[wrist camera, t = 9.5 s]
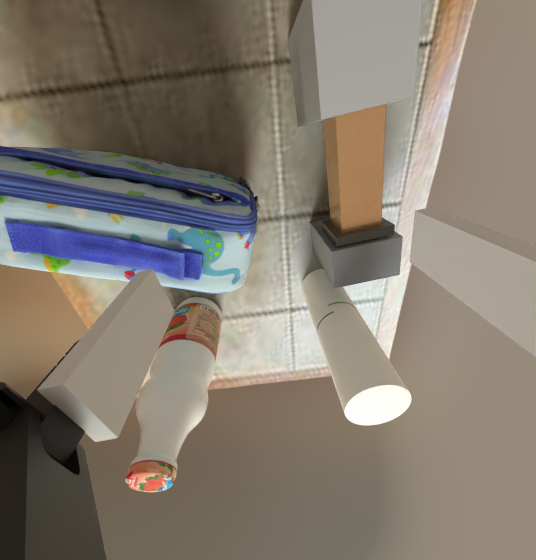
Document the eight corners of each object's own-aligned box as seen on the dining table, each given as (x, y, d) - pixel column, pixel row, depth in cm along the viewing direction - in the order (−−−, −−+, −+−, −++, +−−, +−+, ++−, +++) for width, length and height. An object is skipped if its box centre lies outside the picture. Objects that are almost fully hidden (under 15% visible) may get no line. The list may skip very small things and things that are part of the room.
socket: (309, 222, 41) (331, 251, 30) (361, 210, 40) (402, 236, 29) (313, 251, 43) (334, 288, 33) (361, 240, 43) (399, 274, 32)
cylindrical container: (294, 283, 47) (332, 406, 25) (325, 262, 45) (394, 375, 23) (314, 305, 50) (363, 432, 28) (344, 286, 48) (421, 406, 26)
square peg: (308, 92, 28) (325, 78, 22) (370, 77, 27) (405, 58, 21) (324, 253, 38) (338, 275, 32) (369, 244, 38) (392, 264, 32)
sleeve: (287, 40, 29) (310, -20, 18) (360, 21, 29) (426, -52, 18) (298, 126, 34) (321, 119, 23) (360, 111, 33) (414, 96, 22)
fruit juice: (216, 335, 52) (186, 504, 28) (172, 326, 50) (98, 498, 26) (228, 302, 48) (204, 466, 24) (180, 289, 46) (101, 456, 22)
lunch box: (261, 177, 37) (271, 212, 19) (249, 242, 42) (248, 319, 24) (74, 136, 33) (-146, 130, 15) (86, 213, 38) (-64, 280, 20)
